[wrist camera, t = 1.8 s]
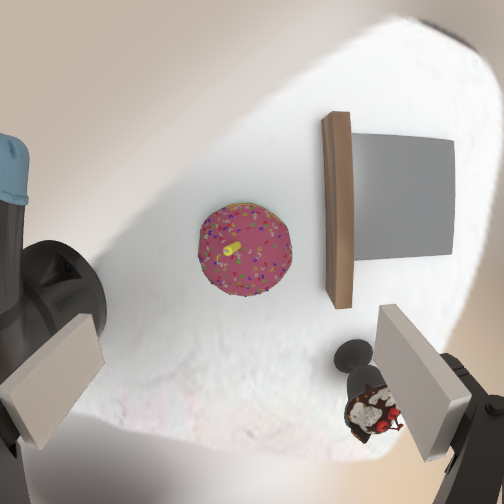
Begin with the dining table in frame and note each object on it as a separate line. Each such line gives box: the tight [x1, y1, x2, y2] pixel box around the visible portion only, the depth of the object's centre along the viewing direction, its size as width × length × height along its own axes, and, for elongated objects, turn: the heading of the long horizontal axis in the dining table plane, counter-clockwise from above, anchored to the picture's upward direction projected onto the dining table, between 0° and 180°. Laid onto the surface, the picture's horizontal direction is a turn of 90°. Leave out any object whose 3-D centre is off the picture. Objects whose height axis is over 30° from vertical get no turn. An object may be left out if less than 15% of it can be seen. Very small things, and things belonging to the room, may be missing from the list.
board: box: [351, 133, 455, 261], centre depth 31 cm, size 13×13×1 cm
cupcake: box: [198, 203, 292, 297], centre depth 27 cm, size 9×8×12 cm
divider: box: [322, 111, 354, 309], centre depth 29 cm, size 2×18×5 cm, turn 3°
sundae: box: [334, 340, 403, 444], centre depth 29 cm, size 7×7×15 cm
